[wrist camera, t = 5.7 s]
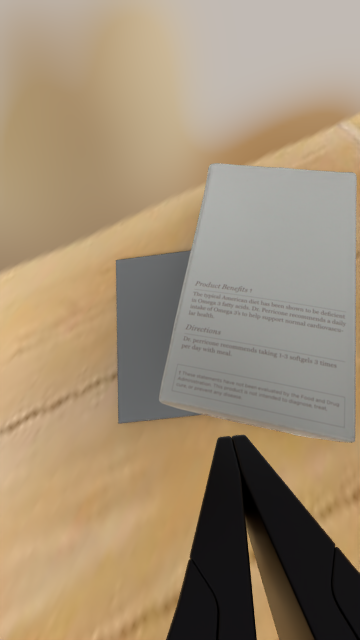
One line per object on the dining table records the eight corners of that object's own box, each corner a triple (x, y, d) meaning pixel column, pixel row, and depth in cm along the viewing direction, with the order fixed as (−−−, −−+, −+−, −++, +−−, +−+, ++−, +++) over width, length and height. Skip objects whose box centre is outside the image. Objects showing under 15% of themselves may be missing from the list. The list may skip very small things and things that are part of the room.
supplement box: (296, 436, 16) (310, 254, 20) (361, 449, 9) (362, 165, 13) (174, 408, 17) (210, 242, 21) (149, 399, 10) (209, 156, 14)
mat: (310, 403, 17) (312, 402, 16) (119, 423, 17) (118, 423, 17) (268, 242, 21) (269, 240, 21) (117, 262, 22) (116, 260, 21)
